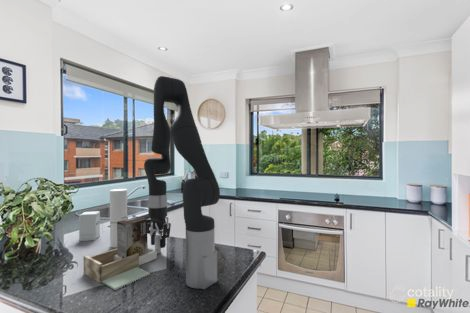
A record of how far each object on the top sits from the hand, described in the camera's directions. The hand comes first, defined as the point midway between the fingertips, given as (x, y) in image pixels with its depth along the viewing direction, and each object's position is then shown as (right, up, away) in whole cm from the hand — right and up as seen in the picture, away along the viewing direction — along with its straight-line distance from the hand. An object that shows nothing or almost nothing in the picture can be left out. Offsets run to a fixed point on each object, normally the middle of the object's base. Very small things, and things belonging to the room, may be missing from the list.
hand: (158, 245), depth 104 cm
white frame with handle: (-5, -3, -6) cm, 8 cm away
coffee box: (-7, -3, -9) cm, 12 cm away
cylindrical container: (-21, -3, +10) cm, 24 cm away
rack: (-11, -3, -15) cm, 19 cm away
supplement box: (-40, -3, +19) cm, 44 cm away
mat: (-4, -3, -22) cm, 22 cm away
